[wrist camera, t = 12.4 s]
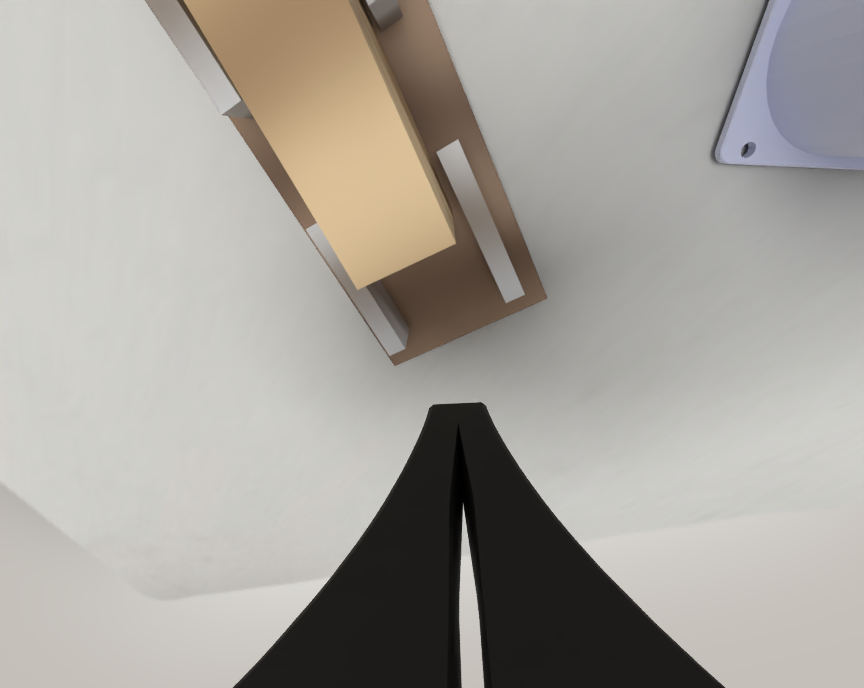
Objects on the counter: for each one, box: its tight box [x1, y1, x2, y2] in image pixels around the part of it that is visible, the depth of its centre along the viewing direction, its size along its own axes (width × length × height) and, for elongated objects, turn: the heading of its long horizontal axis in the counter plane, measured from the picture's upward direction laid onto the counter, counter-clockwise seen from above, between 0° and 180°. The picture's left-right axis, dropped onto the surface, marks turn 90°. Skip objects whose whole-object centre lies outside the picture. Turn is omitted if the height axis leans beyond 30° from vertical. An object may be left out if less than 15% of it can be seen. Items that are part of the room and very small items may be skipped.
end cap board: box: [145, 0, 547, 366], centre depth 13 cm, size 18×8×4 cm, turn 28°
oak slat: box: [184, 0, 456, 290], centre depth 10 cm, size 11×3×6 cm, turn 26°
